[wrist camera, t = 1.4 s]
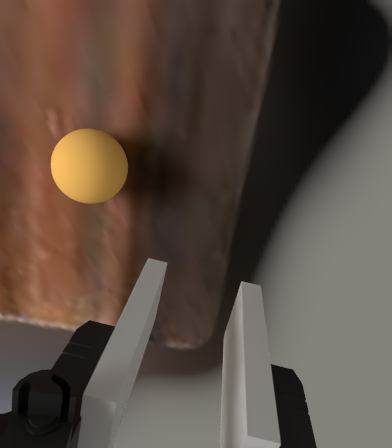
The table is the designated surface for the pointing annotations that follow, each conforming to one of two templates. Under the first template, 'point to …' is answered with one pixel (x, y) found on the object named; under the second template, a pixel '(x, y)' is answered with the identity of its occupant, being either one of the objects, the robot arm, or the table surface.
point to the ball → (89, 166)
